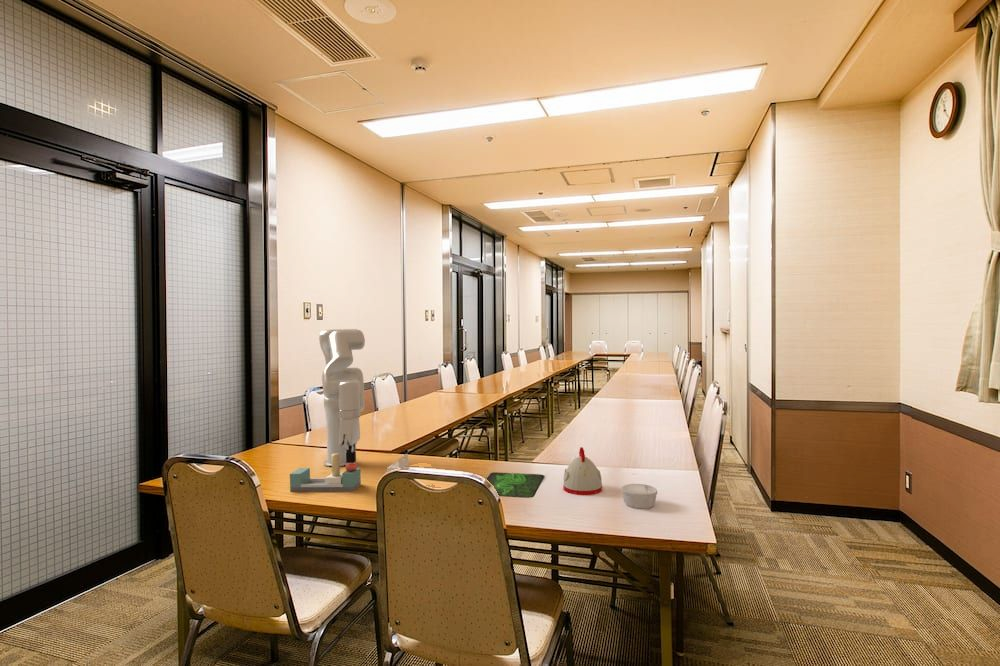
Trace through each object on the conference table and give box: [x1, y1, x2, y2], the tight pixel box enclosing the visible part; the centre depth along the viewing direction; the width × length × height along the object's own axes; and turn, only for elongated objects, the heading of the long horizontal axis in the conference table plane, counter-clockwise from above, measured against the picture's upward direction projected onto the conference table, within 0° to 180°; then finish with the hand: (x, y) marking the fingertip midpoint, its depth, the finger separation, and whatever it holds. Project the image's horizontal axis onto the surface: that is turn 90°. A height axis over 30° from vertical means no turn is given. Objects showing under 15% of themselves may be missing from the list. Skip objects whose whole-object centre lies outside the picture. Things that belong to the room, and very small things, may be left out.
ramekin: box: [621, 483, 658, 510], centre depth 166 cm, size 11×11×5 cm
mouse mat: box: [485, 471, 545, 499], centre depth 190 cm, size 27×22×1 cm
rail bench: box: [289, 467, 362, 492], centre depth 192 cm, size 8×24×6 cm, turn 86°
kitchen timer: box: [563, 446, 603, 496], centre depth 183 cm, size 14×14×15 cm
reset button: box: [345, 462, 358, 471], centre depth 191 cm, size 4×4×2 cm
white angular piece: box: [386, 453, 410, 473], centre depth 179 cm, size 9×5×15 cm, turn 168°
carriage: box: [324, 453, 343, 484], centre depth 192 cm, size 6×6×11 cm
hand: (351, 462), depth 191 cm, fingers closed
